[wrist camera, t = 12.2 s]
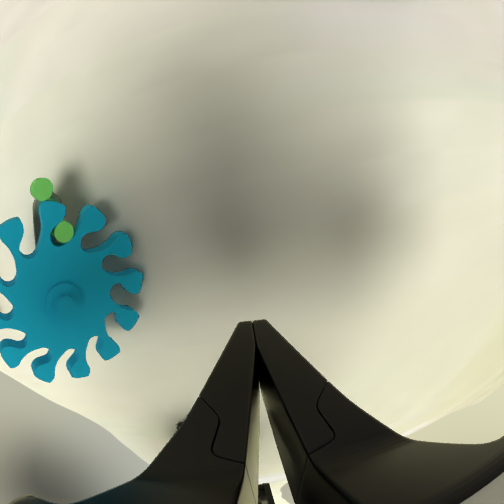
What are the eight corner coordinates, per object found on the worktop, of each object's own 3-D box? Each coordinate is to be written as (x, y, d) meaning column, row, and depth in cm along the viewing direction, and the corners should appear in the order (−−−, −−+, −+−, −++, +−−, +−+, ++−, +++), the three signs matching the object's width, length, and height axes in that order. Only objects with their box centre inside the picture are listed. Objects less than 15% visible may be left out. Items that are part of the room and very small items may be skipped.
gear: (154, 356, 17) (14, 408, 9) (114, 319, 20) (0, 353, 12) (148, 173, 14) (-45, 190, 6) (106, 172, 17) (-31, 186, 10)
